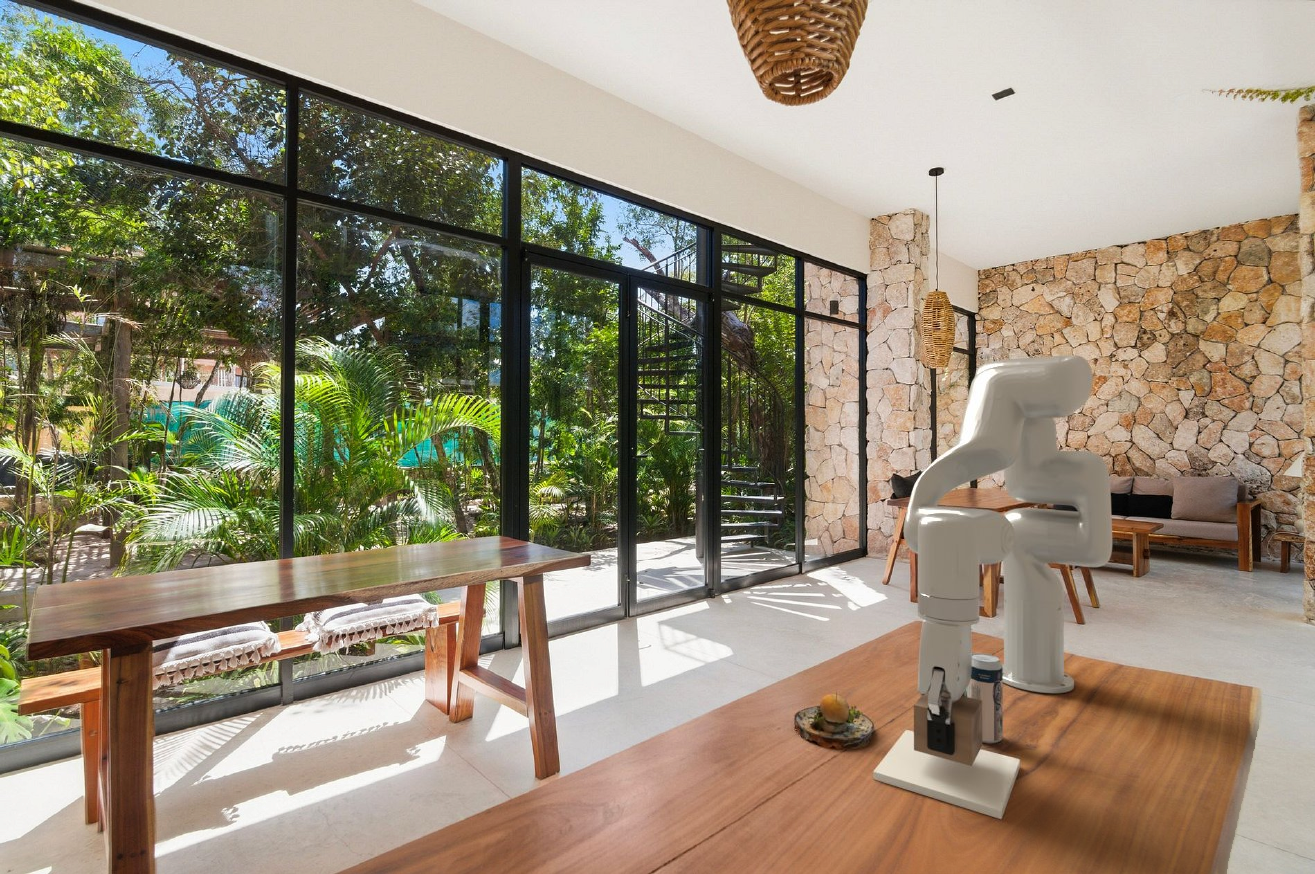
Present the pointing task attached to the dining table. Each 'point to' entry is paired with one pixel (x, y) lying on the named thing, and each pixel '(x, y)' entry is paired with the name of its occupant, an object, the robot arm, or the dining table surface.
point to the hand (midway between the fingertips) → (947, 739)
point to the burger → (834, 724)
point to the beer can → (988, 694)
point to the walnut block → (966, 728)
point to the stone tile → (951, 777)
